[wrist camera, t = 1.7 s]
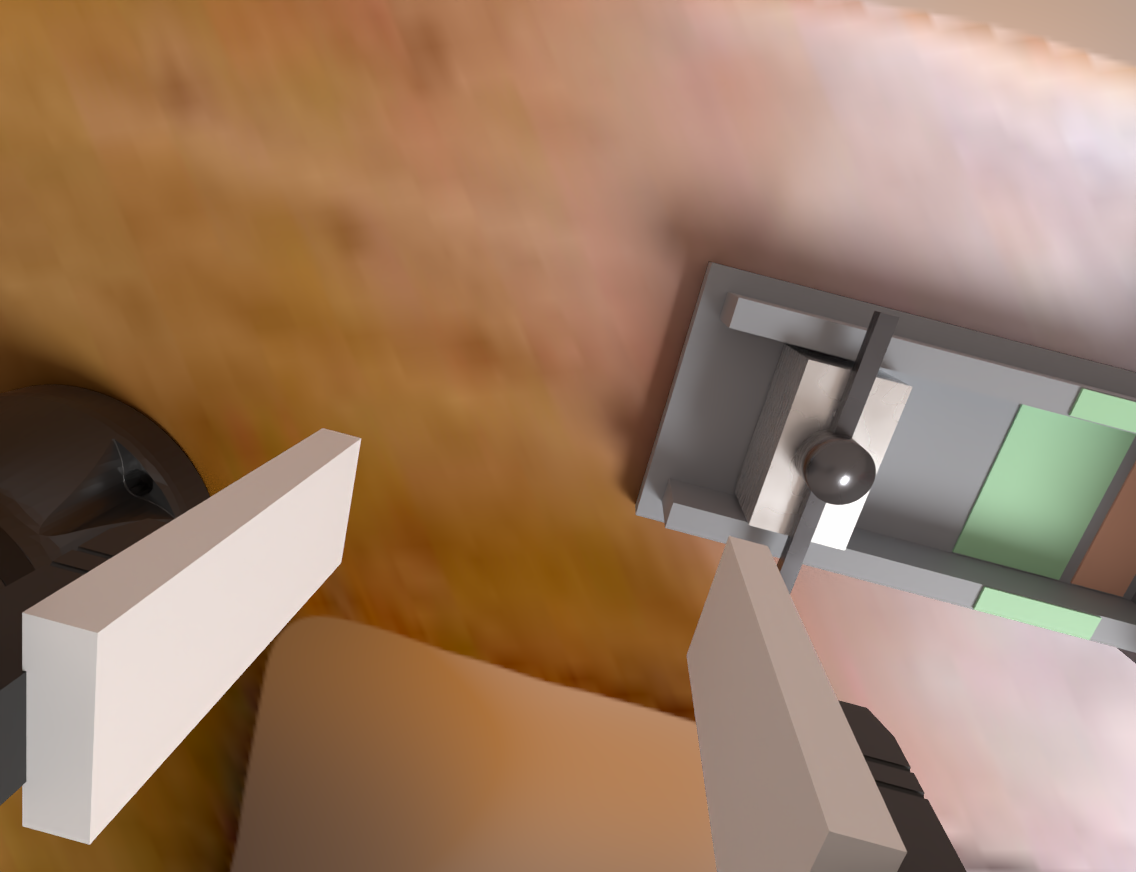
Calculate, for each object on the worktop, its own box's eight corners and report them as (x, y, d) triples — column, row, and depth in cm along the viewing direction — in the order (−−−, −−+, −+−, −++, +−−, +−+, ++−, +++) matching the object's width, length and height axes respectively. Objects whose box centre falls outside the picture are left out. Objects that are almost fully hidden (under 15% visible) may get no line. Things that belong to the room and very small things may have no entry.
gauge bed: (635, 505, 33) (637, 575, 26) (708, 261, 29) (733, 267, 22) (1150, 642, 32) (1291, 750, 26) (1288, 411, 29) (1494, 465, 22)
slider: (718, 533, 31) (737, 596, 26) (802, 291, 28) (845, 303, 22) (800, 555, 31) (837, 622, 26) (895, 315, 28) (961, 333, 22)
